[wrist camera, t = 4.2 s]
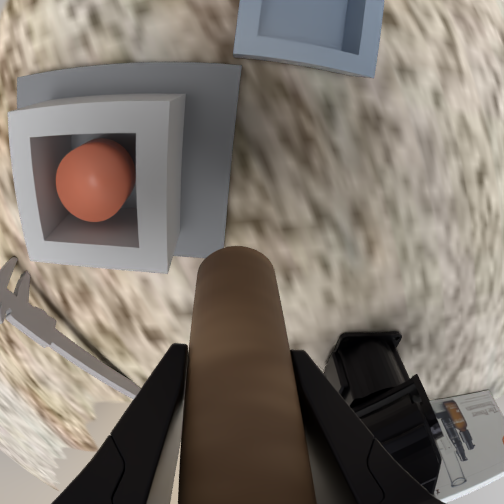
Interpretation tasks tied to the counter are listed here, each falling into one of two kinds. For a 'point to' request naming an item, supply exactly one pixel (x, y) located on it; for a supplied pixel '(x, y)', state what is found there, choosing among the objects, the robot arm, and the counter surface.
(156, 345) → the counter surface
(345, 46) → the blue square tray
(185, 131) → the grey square holder
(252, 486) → the brown wooden cylinder
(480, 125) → the counter surface
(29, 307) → the caliper
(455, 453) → the skincare box
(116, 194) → the button
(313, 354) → the counter surface
